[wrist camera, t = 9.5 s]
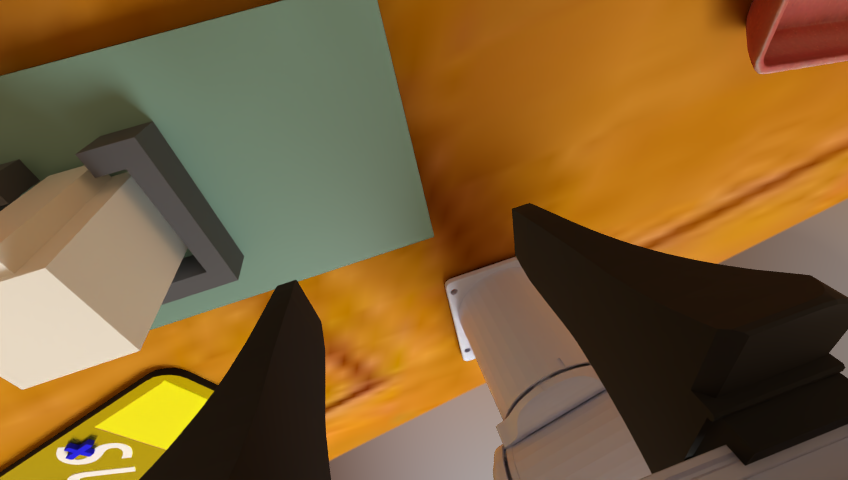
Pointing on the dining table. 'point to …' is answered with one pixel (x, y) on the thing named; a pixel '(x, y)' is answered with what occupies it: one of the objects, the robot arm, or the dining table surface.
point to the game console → (120, 432)
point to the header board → (235, 142)
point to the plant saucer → (796, 34)
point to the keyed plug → (80, 274)
